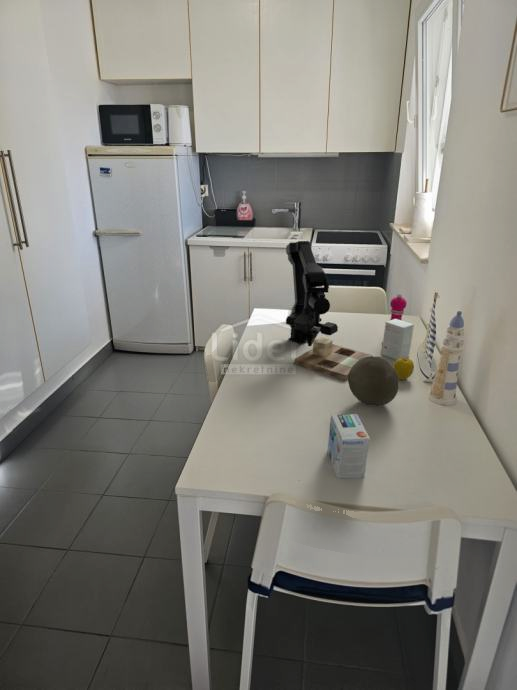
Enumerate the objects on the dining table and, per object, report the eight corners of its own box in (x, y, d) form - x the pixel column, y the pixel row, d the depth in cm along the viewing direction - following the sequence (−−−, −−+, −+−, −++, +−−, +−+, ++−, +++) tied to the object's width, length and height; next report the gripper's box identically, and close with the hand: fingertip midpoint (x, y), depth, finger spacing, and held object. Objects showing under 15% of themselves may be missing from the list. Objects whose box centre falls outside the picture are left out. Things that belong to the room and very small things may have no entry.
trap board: (294, 364, 159) (294, 359, 158) (323, 346, 175) (324, 341, 174) (345, 380, 148) (346, 375, 147) (371, 360, 164) (372, 355, 163)
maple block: (312, 353, 163) (313, 341, 161) (319, 349, 167) (320, 337, 165) (324, 357, 160) (325, 344, 158) (331, 353, 164) (332, 340, 162)
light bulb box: (326, 451, 113) (330, 413, 108) (352, 450, 113) (357, 413, 109) (336, 479, 103) (341, 439, 99) (365, 478, 103) (371, 438, 99)
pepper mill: (404, 340, 182) (411, 292, 174) (399, 346, 176) (406, 297, 169) (386, 336, 186) (393, 289, 178) (381, 342, 180) (387, 294, 172)
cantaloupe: (363, 388, 143) (368, 345, 138) (403, 405, 134) (411, 359, 128) (336, 404, 134) (341, 358, 128) (378, 423, 125) (385, 374, 119)
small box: (409, 357, 167) (414, 324, 162) (399, 361, 163) (404, 327, 158) (390, 350, 173) (395, 318, 168) (380, 354, 169) (385, 321, 164)
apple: (389, 380, 149) (393, 358, 146) (394, 372, 155) (397, 351, 151) (409, 384, 147) (413, 362, 144) (413, 377, 152) (417, 355, 149)
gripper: (278, 305, 159) (276, 346, 165) (324, 316, 149) (320, 359, 155) (295, 298, 167) (293, 337, 173) (340, 308, 157) (336, 349, 163)
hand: (309, 345), depth 166 cm, fingers closed
